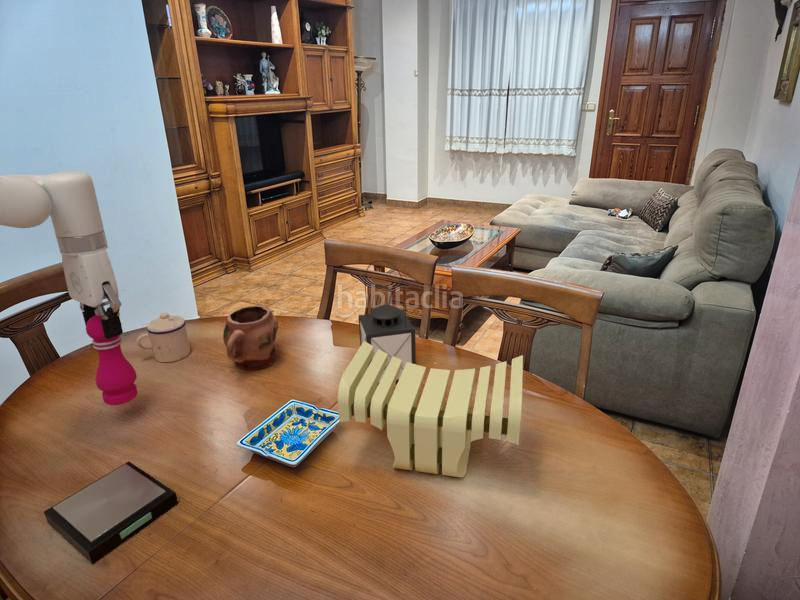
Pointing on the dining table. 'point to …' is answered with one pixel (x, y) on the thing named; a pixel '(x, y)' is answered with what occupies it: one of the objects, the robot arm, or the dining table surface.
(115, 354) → the pepper mill
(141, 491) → the kitchen scale
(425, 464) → the slatted curved stool
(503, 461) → the dining table surface
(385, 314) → the lantern
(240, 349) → the decorative planter
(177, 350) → the teacup with lid
